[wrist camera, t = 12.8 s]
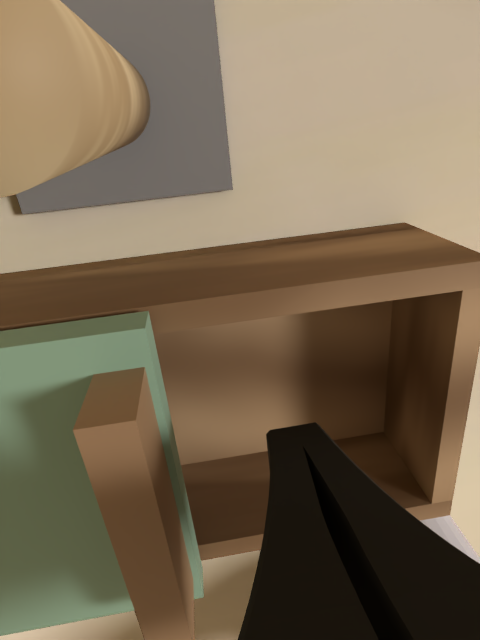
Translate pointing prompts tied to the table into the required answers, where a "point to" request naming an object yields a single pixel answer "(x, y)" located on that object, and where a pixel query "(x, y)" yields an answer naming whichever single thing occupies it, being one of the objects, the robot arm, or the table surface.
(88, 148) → the beige banded cylinder
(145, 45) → the mat
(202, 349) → the toolbox
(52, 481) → the toolbox lid
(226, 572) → the table surface
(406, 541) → the robot arm
